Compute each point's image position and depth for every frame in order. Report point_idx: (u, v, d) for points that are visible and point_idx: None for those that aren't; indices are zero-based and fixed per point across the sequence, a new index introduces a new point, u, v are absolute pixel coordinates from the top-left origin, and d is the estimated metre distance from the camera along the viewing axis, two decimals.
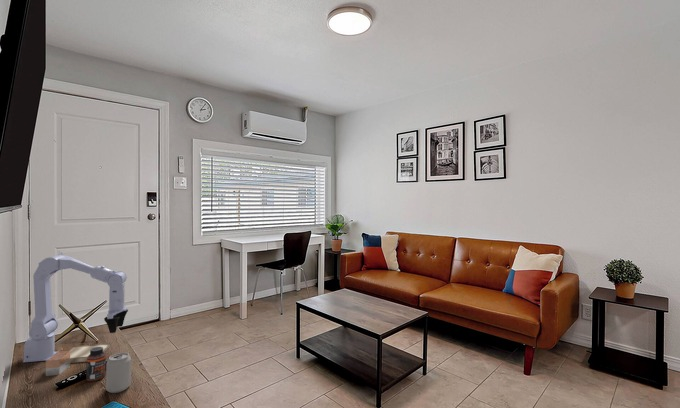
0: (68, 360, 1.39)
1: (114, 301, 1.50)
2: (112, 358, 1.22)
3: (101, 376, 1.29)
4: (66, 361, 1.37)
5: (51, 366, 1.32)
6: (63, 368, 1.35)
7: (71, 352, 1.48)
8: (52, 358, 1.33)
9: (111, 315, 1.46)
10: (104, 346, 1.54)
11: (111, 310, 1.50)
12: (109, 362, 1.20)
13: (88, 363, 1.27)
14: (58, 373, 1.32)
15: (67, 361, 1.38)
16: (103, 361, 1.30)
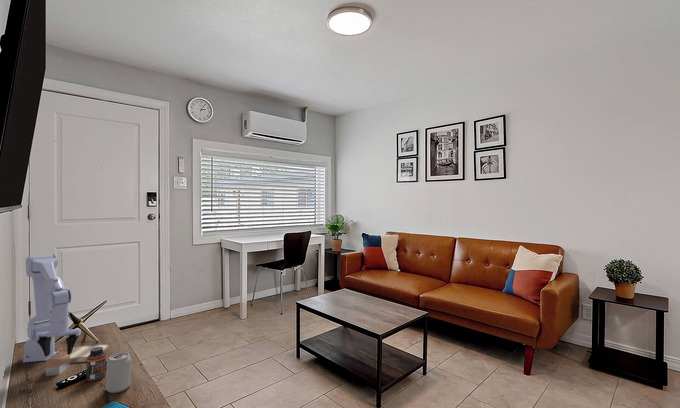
0: (68, 360, 1.39)
1: None
2: (112, 358, 1.22)
3: (101, 376, 1.29)
4: (66, 361, 1.37)
5: (51, 366, 1.32)
6: (63, 368, 1.35)
7: None
8: (52, 358, 1.33)
9: None
10: (104, 346, 1.54)
11: None
12: (109, 362, 1.20)
13: (88, 363, 1.27)
14: (58, 373, 1.32)
15: (67, 361, 1.38)
16: (103, 361, 1.30)
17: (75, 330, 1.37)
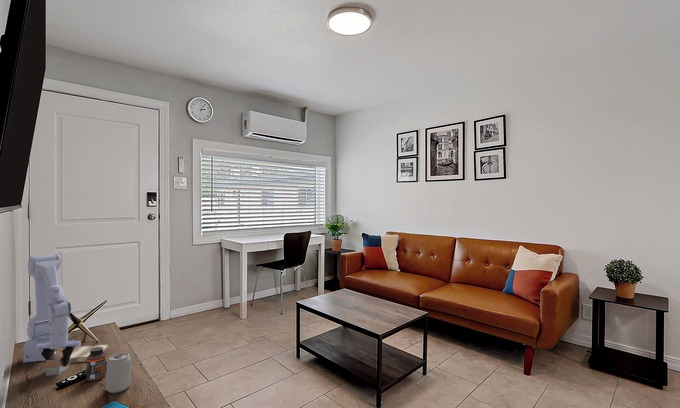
0: None
1: None
2: (112, 358, 1.22)
3: (101, 376, 1.29)
4: None
5: (51, 366, 1.32)
6: (63, 368, 1.35)
7: None
8: (52, 358, 1.33)
9: None
10: (104, 346, 1.54)
11: None
12: (109, 362, 1.20)
13: (88, 363, 1.27)
14: (58, 373, 1.32)
15: None
16: (103, 361, 1.30)
17: (75, 342, 1.37)
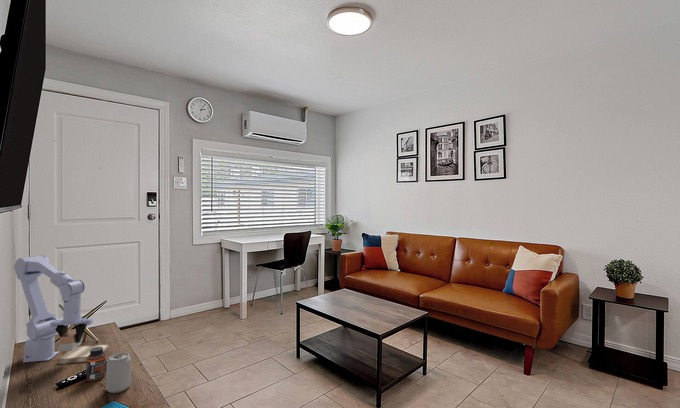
0: None
1: None
2: (112, 358, 1.22)
3: (101, 376, 1.29)
4: None
5: (64, 342, 1.38)
6: (76, 345, 1.41)
7: (71, 352, 1.48)
8: (65, 335, 1.39)
9: None
10: (104, 346, 1.54)
11: None
12: (109, 362, 1.20)
13: (88, 363, 1.27)
14: (71, 349, 1.38)
15: None
16: (103, 361, 1.30)
17: (87, 319, 1.43)
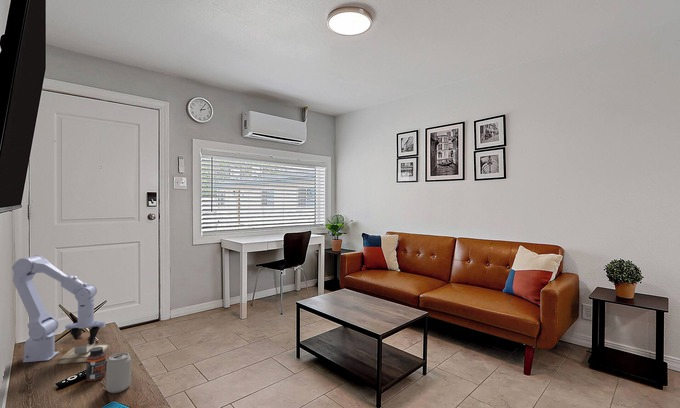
0: None
1: None
2: (112, 358, 1.22)
3: (101, 376, 1.29)
4: None
5: (79, 345, 1.45)
6: (89, 347, 1.48)
7: (71, 352, 1.48)
8: (80, 337, 1.46)
9: None
10: (104, 346, 1.54)
11: None
12: (109, 362, 1.20)
13: (88, 363, 1.27)
14: (85, 351, 1.45)
15: None
16: (103, 361, 1.30)
17: (100, 322, 1.51)
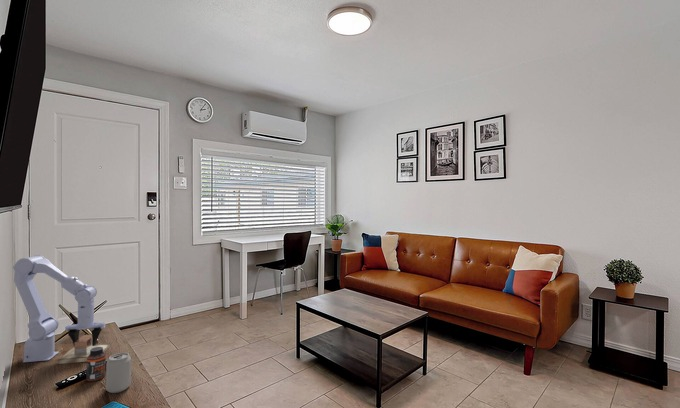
0: None
1: None
2: (112, 358, 1.22)
3: (101, 376, 1.29)
4: None
5: (79, 347, 1.45)
6: (89, 349, 1.48)
7: (71, 352, 1.48)
8: (80, 340, 1.46)
9: None
10: (104, 346, 1.54)
11: None
12: (109, 362, 1.20)
13: (88, 363, 1.27)
14: (85, 354, 1.45)
15: None
16: (103, 361, 1.30)
17: (100, 323, 1.51)
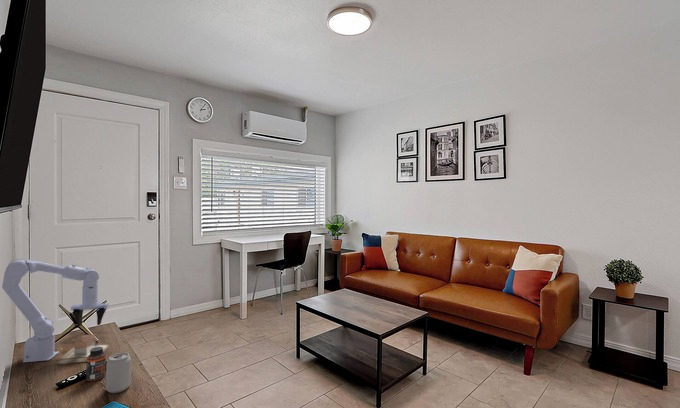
0: (93, 343, 1.52)
1: None
2: (112, 358, 1.22)
3: (101, 376, 1.29)
4: (92, 343, 1.50)
5: (79, 347, 1.45)
6: (89, 349, 1.48)
7: (71, 352, 1.48)
8: (80, 340, 1.46)
9: None
10: (104, 346, 1.54)
11: None
12: (109, 362, 1.20)
13: (88, 363, 1.27)
14: (85, 354, 1.45)
15: (92, 343, 1.51)
16: (103, 361, 1.30)
17: (103, 304, 1.58)
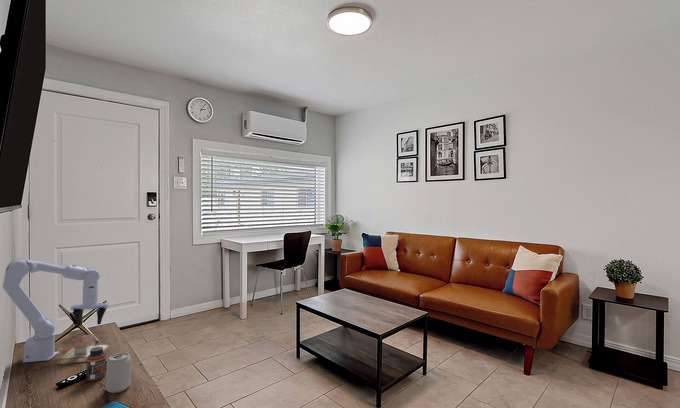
0: (93, 343, 1.52)
1: None
2: (112, 358, 1.22)
3: (101, 376, 1.29)
4: (92, 343, 1.50)
5: (79, 347, 1.45)
6: (89, 349, 1.48)
7: (71, 352, 1.48)
8: (80, 340, 1.46)
9: None
10: (104, 346, 1.54)
11: None
12: (109, 362, 1.20)
13: (88, 363, 1.27)
14: (85, 354, 1.45)
15: (92, 343, 1.51)
16: (103, 361, 1.30)
17: (104, 304, 1.59)
